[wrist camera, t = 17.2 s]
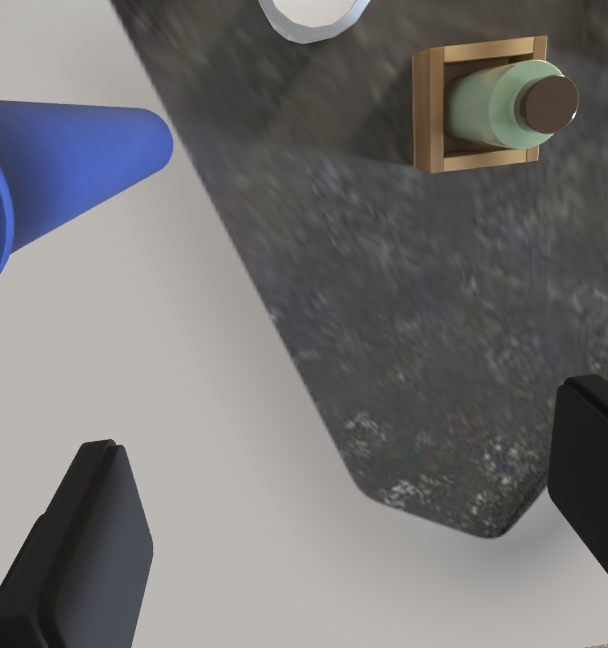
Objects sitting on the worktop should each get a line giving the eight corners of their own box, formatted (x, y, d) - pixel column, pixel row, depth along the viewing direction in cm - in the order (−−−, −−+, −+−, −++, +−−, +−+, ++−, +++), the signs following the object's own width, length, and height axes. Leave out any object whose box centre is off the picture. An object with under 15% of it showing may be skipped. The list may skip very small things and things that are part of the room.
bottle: (436, 144, 37) (506, 157, 27) (436, 76, 35) (511, 59, 25) (497, 138, 37) (591, 147, 27) (500, 68, 35) (602, 49, 25)
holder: (413, 167, 38) (430, 173, 34) (411, 55, 35) (429, 48, 31) (511, 156, 38) (538, 160, 35) (517, 43, 35) (548, 35, 32)
